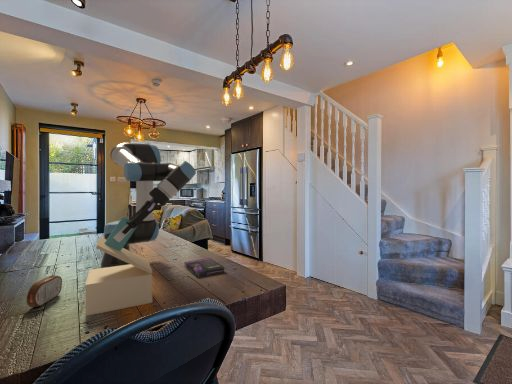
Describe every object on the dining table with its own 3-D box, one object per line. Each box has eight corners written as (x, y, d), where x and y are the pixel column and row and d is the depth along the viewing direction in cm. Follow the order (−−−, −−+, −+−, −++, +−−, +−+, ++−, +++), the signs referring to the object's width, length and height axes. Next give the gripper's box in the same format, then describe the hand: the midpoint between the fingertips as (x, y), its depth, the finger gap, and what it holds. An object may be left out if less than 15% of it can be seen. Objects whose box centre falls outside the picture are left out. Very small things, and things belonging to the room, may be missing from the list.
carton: (146, 286, 111) (146, 262, 111) (152, 302, 95) (151, 274, 95) (89, 295, 101) (89, 269, 101) (85, 315, 85) (85, 284, 85)
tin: (55, 293, 104) (55, 272, 104) (64, 293, 104) (63, 271, 104) (25, 311, 89) (25, 286, 89) (35, 311, 89) (35, 286, 89)
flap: (145, 261, 110) (161, 236, 113) (151, 273, 95) (170, 243, 98) (98, 238, 102) (117, 211, 105) (95, 248, 86) (118, 216, 89)
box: (184, 268, 137) (196, 279, 120) (184, 261, 137) (195, 271, 120) (210, 264, 144) (224, 273, 127) (210, 257, 144) (224, 266, 127)
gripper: (174, 200, 99) (125, 250, 92) (166, 199, 113) (123, 242, 105) (159, 186, 97) (107, 236, 89) (153, 186, 110) (107, 229, 102)
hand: (116, 239), depth 97 cm, fingers closed on flap, 2 cm apart
